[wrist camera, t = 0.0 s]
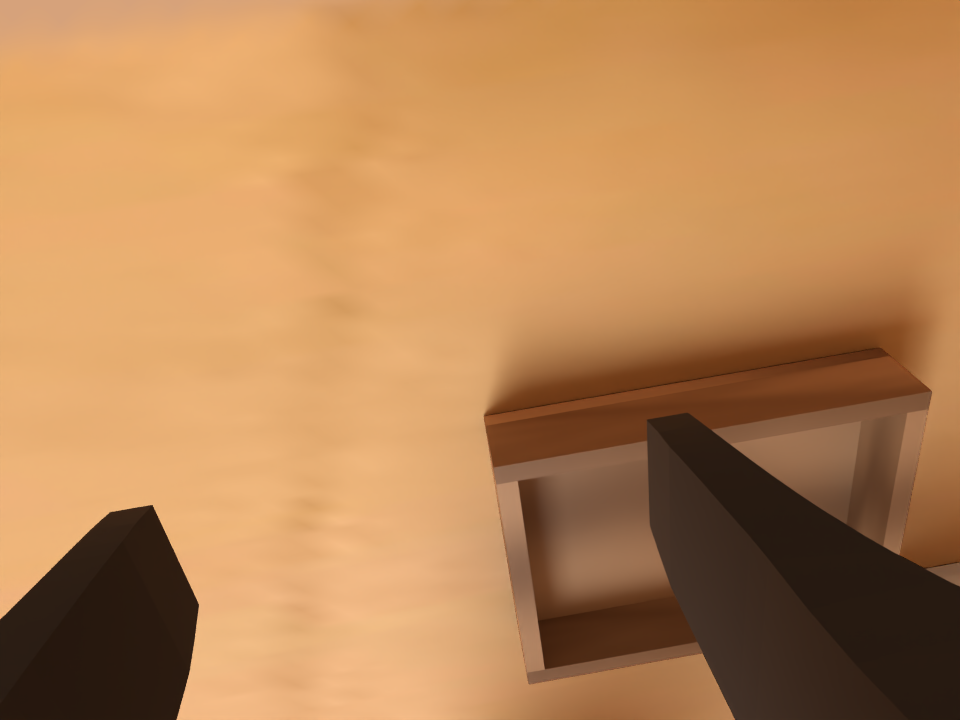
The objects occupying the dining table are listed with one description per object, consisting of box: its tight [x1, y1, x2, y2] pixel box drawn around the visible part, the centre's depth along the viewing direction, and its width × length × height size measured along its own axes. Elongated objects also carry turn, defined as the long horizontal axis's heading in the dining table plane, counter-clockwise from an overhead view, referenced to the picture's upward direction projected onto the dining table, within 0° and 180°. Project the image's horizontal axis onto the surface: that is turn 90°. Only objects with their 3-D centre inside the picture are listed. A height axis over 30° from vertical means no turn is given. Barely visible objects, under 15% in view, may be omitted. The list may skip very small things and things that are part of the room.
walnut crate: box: [484, 348, 932, 684], centre depth 24 cm, size 9×12×2 cm
